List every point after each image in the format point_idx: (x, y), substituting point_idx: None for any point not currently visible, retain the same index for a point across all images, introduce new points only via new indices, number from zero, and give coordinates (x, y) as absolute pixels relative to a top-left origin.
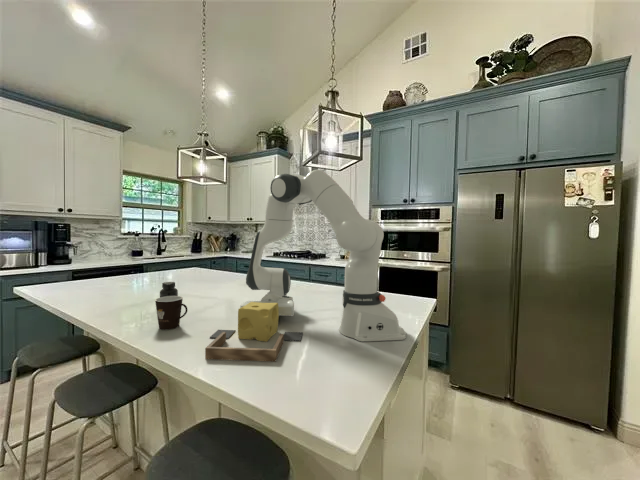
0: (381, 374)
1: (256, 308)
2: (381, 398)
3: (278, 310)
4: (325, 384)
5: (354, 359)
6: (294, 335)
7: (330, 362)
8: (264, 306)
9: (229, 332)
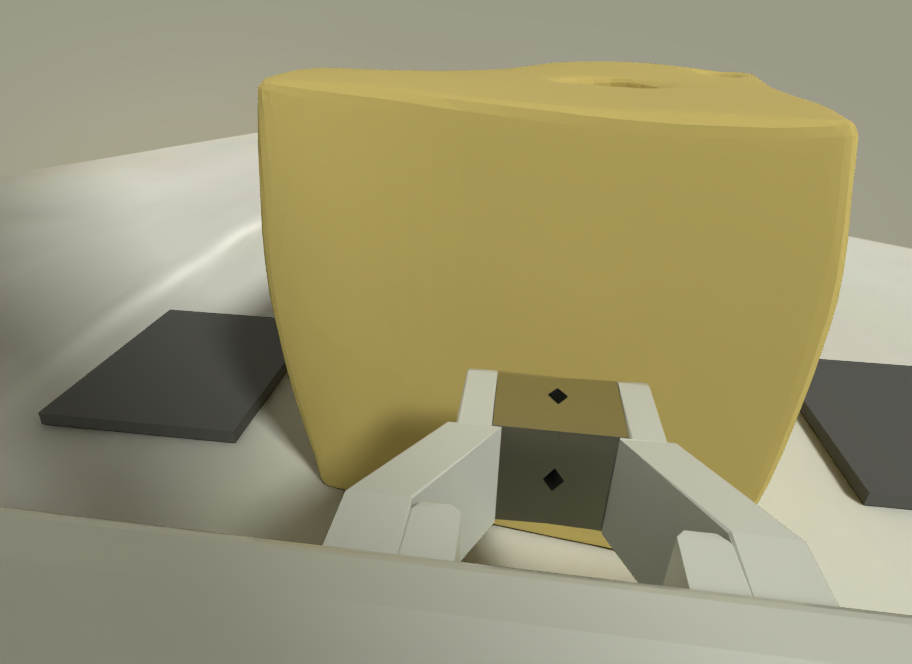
0: (31, 179)
1: (556, 67)
2: (138, 153)
3: (266, 218)
4: (243, 171)
5: (24, 215)
6: (173, 362)
7: (148, 210)
8: (479, 72)
9: (875, 440)
